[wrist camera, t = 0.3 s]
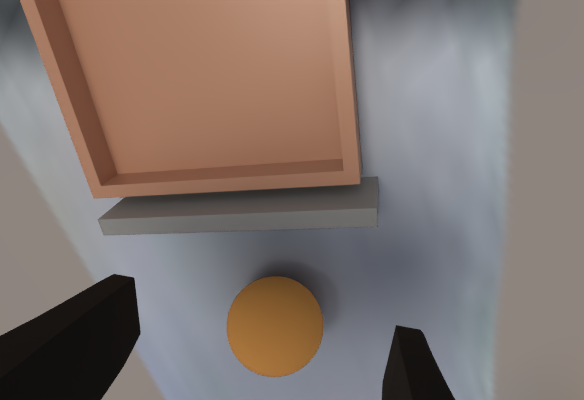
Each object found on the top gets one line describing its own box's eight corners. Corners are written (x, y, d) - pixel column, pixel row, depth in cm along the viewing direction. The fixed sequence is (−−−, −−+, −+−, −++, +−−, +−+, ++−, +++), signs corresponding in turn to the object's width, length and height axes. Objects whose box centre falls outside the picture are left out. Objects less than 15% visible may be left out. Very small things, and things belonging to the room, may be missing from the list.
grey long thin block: (378, 193, 19) (378, 226, 17) (137, 205, 22) (103, 235, 19) (377, 176, 19) (376, 208, 16) (132, 190, 22) (97, 219, 19)
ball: (313, 339, 24) (299, 412, 20) (234, 311, 24) (204, 378, 20) (340, 275, 22) (330, 343, 17) (253, 245, 22) (223, 305, 18)
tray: (362, 167, 19) (360, 184, 17) (115, 182, 22) (93, 198, 20) (333, -193, 14) (327, -215, 12) (14, -111, 16) (-25, -121, 15)
